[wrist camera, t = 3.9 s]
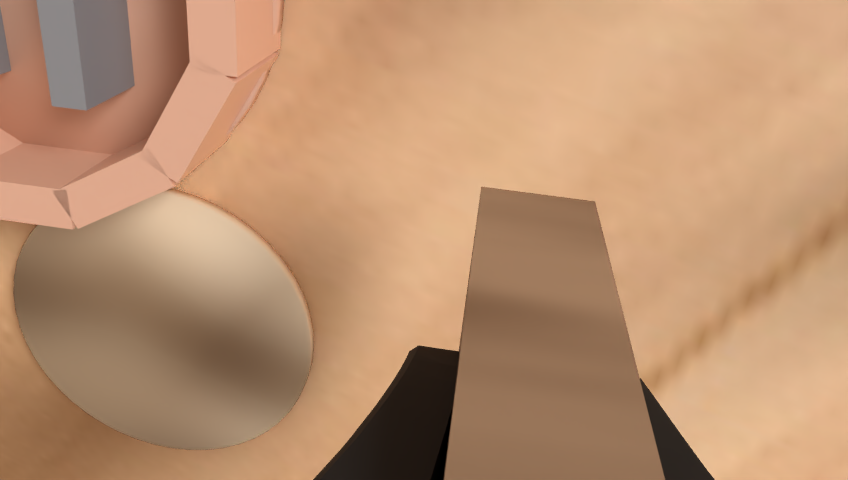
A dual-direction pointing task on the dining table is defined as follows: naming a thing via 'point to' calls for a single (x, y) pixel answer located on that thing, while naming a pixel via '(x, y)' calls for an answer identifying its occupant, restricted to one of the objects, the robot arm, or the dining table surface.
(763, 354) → the dining table surface
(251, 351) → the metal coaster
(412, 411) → the robot arm
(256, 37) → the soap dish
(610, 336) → the brown rectangular block
